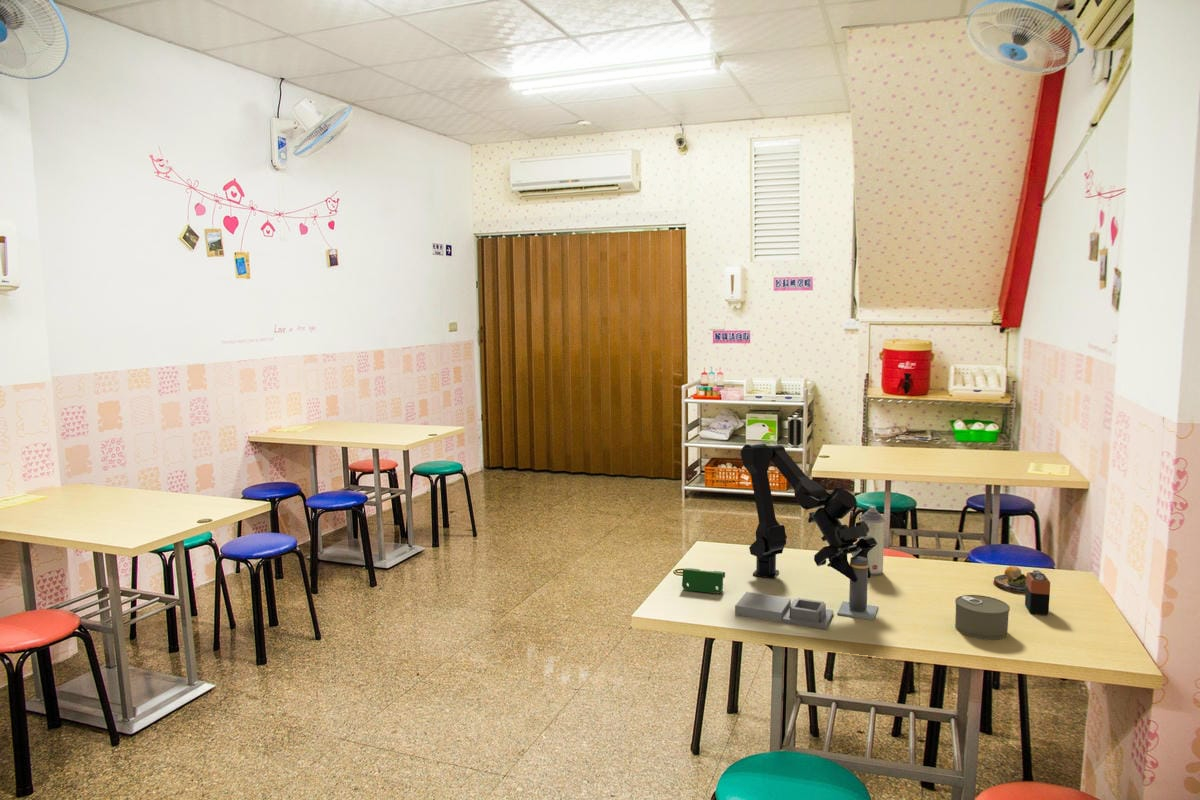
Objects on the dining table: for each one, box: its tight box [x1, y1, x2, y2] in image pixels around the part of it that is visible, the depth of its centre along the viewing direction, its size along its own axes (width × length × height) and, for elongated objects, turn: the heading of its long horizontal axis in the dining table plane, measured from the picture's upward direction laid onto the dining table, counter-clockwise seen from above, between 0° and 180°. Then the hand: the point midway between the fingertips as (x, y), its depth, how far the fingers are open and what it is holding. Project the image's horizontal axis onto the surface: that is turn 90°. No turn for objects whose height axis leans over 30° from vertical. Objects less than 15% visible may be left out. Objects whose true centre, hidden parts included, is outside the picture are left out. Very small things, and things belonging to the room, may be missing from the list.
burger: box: [993, 562, 1026, 595], centre depth 224 cm, size 12×12×8 cm
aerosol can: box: [859, 505, 885, 577], centre depth 236 cm, size 7×7×20 cm
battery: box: [1024, 569, 1051, 616], centre depth 206 cm, size 4×7×10 cm, turn 163°
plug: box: [848, 556, 869, 610], centre depth 206 cm, size 5×5×13 cm
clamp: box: [681, 567, 726, 594], centre depth 224 cm, size 12×6×9 cm, turn 64°
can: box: [954, 594, 1011, 641], centre depth 194 cm, size 12×12×7 cm
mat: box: [836, 601, 879, 621], centre depth 207 cm, size 9×9×1 cm
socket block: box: [734, 591, 834, 630], centre depth 205 cm, size 11×23×4 cm, turn 64°
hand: (863, 579), depth 204 cm, fingers open, 5 cm apart
